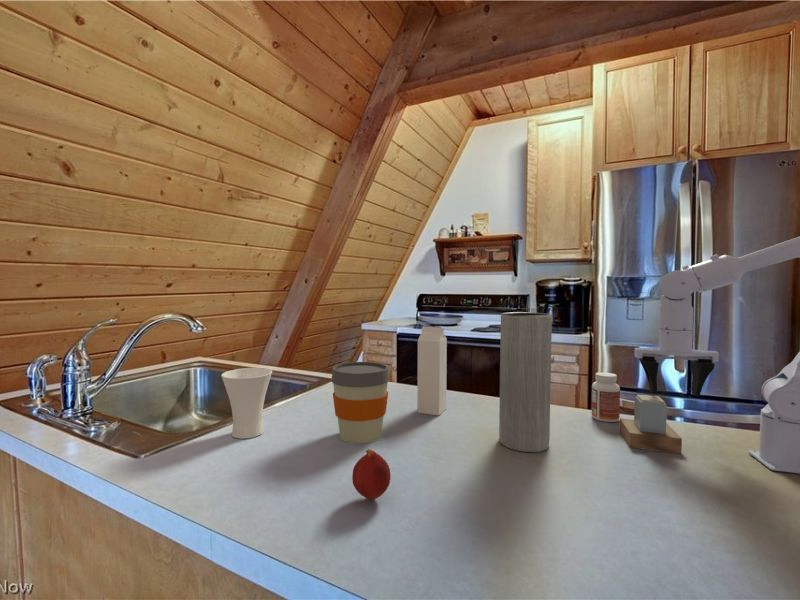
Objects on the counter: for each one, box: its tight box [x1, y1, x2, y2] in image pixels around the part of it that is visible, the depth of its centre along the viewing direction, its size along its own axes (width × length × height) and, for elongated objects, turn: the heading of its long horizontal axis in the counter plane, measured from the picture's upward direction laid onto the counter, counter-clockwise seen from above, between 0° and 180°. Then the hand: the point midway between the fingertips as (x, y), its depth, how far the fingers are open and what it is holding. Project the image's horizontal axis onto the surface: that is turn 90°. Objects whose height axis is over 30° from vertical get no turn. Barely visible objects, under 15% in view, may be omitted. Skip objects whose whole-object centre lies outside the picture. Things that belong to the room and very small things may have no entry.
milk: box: [416, 326, 448, 417], centre depth 102 cm, size 6×6×22 cm
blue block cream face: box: [633, 394, 668, 434], centre depth 82 cm, size 5×5×6 cm
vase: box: [498, 311, 553, 453], centre depth 81 cm, size 10×10×27 cm
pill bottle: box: [591, 371, 621, 423], centre depth 96 cm, size 6×6×11 cm
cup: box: [220, 367, 273, 440], centre depth 86 cm, size 10×10×14 cm
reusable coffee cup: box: [331, 361, 390, 444], centre depth 85 cm, size 13×12×15 cm
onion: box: [351, 448, 391, 502], centre depth 60 cm, size 6×6×8 cm
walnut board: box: [619, 417, 683, 454], centre depth 82 cm, size 9×9×3 cm
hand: (674, 393), depth 82 cm, fingers open, 7 cm apart
